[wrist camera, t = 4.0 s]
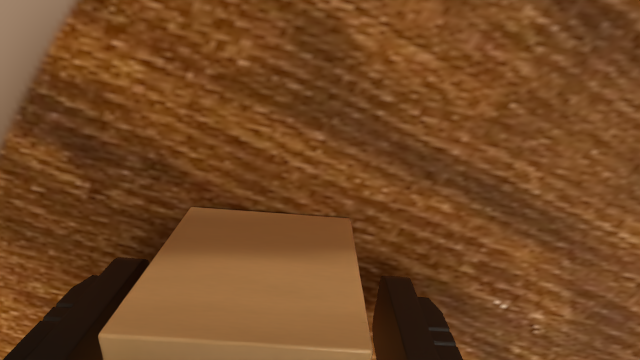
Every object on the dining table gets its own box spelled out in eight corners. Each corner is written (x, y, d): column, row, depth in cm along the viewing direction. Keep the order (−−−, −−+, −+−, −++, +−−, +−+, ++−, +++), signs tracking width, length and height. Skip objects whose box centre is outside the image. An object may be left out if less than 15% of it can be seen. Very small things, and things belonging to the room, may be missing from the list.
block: (190, 205, 10) (95, 336, 5) (350, 217, 10) (373, 351, 6) (199, 326, 11) (131, 494, 7) (334, 335, 11) (343, 502, 7)
